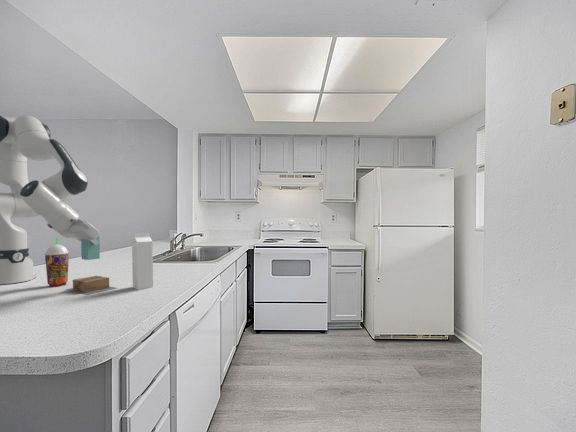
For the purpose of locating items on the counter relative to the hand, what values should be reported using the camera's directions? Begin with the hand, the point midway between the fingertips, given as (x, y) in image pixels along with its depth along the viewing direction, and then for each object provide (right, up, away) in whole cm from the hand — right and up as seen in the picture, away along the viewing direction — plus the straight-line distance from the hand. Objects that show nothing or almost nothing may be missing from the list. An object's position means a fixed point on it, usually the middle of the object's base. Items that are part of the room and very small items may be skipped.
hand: (92, 243), depth 131 cm
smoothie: (-18, -18, +7) cm, 27 cm away
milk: (+19, -18, +3) cm, 26 cm away
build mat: (0, -18, 0) cm, 18 cm away
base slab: (0, -18, 0) cm, 18 cm away
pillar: (0, -6, 0) cm, 6 cm away
